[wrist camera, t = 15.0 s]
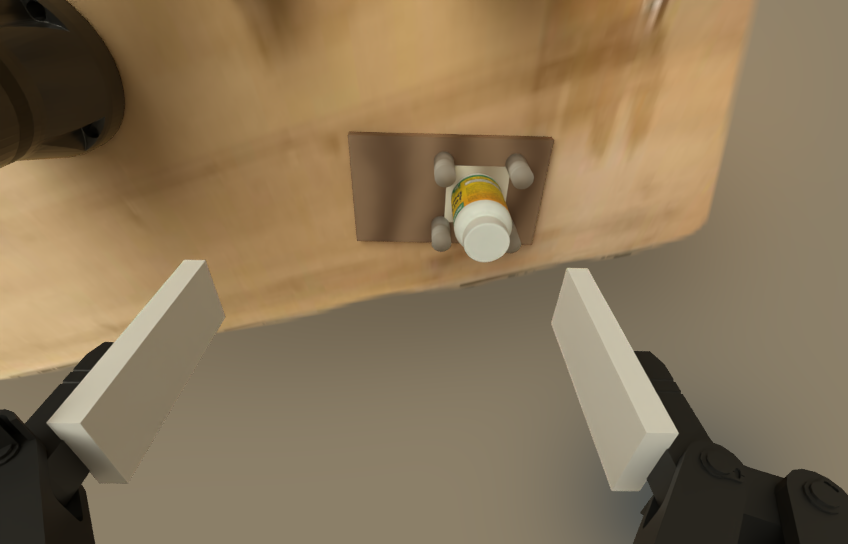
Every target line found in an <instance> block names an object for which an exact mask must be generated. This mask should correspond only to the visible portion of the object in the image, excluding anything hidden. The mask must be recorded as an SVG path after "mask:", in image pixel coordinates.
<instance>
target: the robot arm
mask: <svg viewBox="0 0 848 544" xmlns="http://www.w3.org/2000/svg"><path fill="white" fill-rule="evenodd" d="M123 114H124V91H123V86H122V82H121V78H120V75H119V72H118V70H117V67H116V65H115V63H114V61H113V59H112V57H111V55H110V53H109V51H108V49H107V48H106V46H105V44H104V43H103V41H102V40H101V38H100V37H99V36H98V34H97V33H96V32H95V30H94V29H93V28H92V27H91V25H90V24H89V23H88V22H87V21H86V20H85V18H84V17H83V16H82V15H81V14H80V13H79V12H78V11H77V10H76V9H75V8H74V7H73V6H71V5H70V4H69V3H68V2H67V1H66V0H0V168H2V167H4V166H6V165H8V164H10V163H13V162H15V161H21V160H37V159H53V158H67V157H74V156H78V155H81V154H84V153H87V152H89V151H91V150H93V149H95V148H97V147H99V146H101V145H103V144H104V143H106V142H107V141H108V140H110V139H111V138H112V137H113V136H114V135H115V133H116V132H117V130H118V129H119V127H120V125H121V122H122V119H123ZM224 319H225V314H224V311H223V308H222V306H221V303H220V300H219V297H218V294H217V291H216V289H215V286H214V283H213V280H212V277H211V274H210V272H209V269H208V266H207V263H206V260H184V261H183V262H182V263H181V264H180V265H179V266H178V268H177V269H176V270H175V271H174V272H173V274H172V275H171V276H170V277H169V278H168V279H167V281H166V282H165V283H164V284H163V285H162V287H161V288H160V289H159V290H158V291H157V292H156V294H155V295H154V296H153V297H152V298H151V300H150V301H149V302H148V303H147V304H146V305H145V307H144V308H143V309H142V310H141V311H140V313H139V314H138V315H137V316H136V317H135V318H134V320H133V321H132V322H131V323H130V324H129V326H128V327H127V328H126V329H125V330H124V332H123V333H122V334H121V335H120V336H119V337H118V339H117V340H116V341H115V342H104V343H102V344H101V345H100V346H98V347H97V348H95V349H94V350H92V351H91V352H89V353H88V354H87V355H86V356H85V357H84V358H83V359H82V360H81V361H80V362H79V363H78V365H77V366H76V367H75V368H74V371H73V372H70V374H69V375H68V376H67V377H66V378H65V379H64V380H63V384H60V385H59V386H58V387H57V388H56V389H55V390H54V391H53V393H52V394H51V395H50V396H49V397H48V398H47V399H46V400H45V402H44V403H43V404H42V405H41V406H40V407H39V408H38V409H37V411H36V412H35V413H34V414H33V415H32V416H31V417H30V418H29V420H28V421H27V422H26V423H25V424H24V423H23V422H22V421H21V420H20V419H19V417H18V416H17V415H16V414H15V413H14V412H12V411H9V410H6V409H4V410H0V544H95V540H94V535H93V530H92V524H91V518H90V512H89V507H88V501H87V495H86V491H85V489H84V487H83V486H82V485H81V484H82V482H83V481H84V479H85V478H86V476H87V475H88V473H89V472H90V473H91V474H92V475H93V476H94V478H95V479H96V480H97V481H98V482H99V483H117V484H118V483H120V484H128V483H129V481H130V480H131V478H132V476H133V475H134V473H135V471H136V469H137V468H138V466H139V464H140V463H141V461H142V459H143V457H144V455H145V454H146V452H147V451H148V449H149V447H150V445H151V444H152V442H153V440H154V439H155V437H156V435H157V433H158V432H159V430H160V428H161V426H162V425H163V423H164V421H165V420H166V418H167V416H168V415H169V413H170V411H171V409H172V408H173V406H174V404H175V402H176V401H177V399H178V397H179V396H180V394H181V392H182V390H183V389H184V387H185V385H186V384H187V382H188V380H189V378H190V377H191V375H192V373H193V371H194V370H195V368H196V367H197V365H198V363H199V361H200V360H201V358H202V356H203V355H204V353H205V351H206V349H207V348H208V346H209V344H210V343H211V341H212V339H213V337H214V336H215V334H216V332H217V331H218V329H219V327H220V325H221V324H222V322H223V320H224ZM551 324H552V327H553V330H554V333H555V335H556V338H557V341H558V344H559V346H560V349H561V352H562V355H563V357H564V360H565V363H566V366H567V369H568V371H569V374H570V377H571V380H572V382H573V385H574V388H575V391H576V393H577V396H578V399H579V402H580V404H581V407H582V410H583V413H584V416H585V418H586V421H587V424H588V427H589V429H590V432H591V435H592V438H593V441H594V443H595V446H596V449H597V452H598V454H599V457H600V460H601V463H602V465H603V468H604V471H605V474H606V476H607V479H608V482H609V485H610V488H611V490H612V491H640V489H641V488H642V487H643V485H644V484H645V482H646V481H648V483H649V485H650V487H651V490H652V492H653V494H654V495H653V496H652V497H651V499H650V500H649V501H648V503H647V504H646V506H645V507H644V508H643V510H642V511H641V514H643V515H644V516H643V519H642V522H641V524H640V527H639V529H638V532H637V534H636V537H635V539H634V542H633V544H848V495H847V494H846V493H845V492H844V490H843V489H842V488H840V487H839V486H838V485H836V484H835V483H834V482H832V481H831V480H829V479H828V478H826V477H824V476H822V475H820V474H818V473H816V472H813V471H808V470H805V469H798V470H792V471H791V472H790V473H789V474H788V475H787V476H786V477H785V478H782V477H779V476H776V475H772V474H769V473H766V472H762V471H759V470H756V469H752V468H749V467H747V466H744V465H743V464H742V462H741V461H740V460H739V459H738V458H737V457H736V456H735V455H734V454H733V453H731V452H730V451H728V450H727V449H726V448H724V447H722V446H720V445H718V444H715V443H713V442H712V441H711V439H710V438H709V436H708V435H707V433H706V431H705V430H704V428H703V426H702V425H701V423H700V422H699V420H698V418H697V417H696V415H695V413H694V412H693V410H692V408H691V407H690V405H689V404H688V402H687V400H686V399H685V397H684V396H683V394H681V391H680V389H679V387H678V386H677V384H676V382H674V381H673V378H672V376H671V374H670V373H669V371H668V369H667V368H666V367H665V365H664V364H663V363H662V362H661V361H660V360H659V359H658V358H657V357H656V356H655V355H653V354H652V353H651V352H650V351H649V352H648V351H633V349H632V348H631V346H630V344H629V343H628V341H627V339H626V337H625V335H624V333H623V331H622V330H621V328H620V326H619V324H618V322H617V320H616V319H615V317H614V315H613V313H612V312H611V310H610V308H609V306H608V304H607V303H606V301H605V299H604V297H603V296H602V294H601V292H600V290H599V288H598V286H597V284H596V283H595V281H594V279H593V277H592V275H591V273H590V272H589V270H588V269H586V268H567V269H566V273H565V276H564V280H563V284H562V287H561V291H560V294H559V298H558V301H557V305H556V308H555V312H554V315H553V319H552V323H551Z"/></svg>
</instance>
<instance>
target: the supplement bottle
mask: <svg viewBox="0 0 848 544" xmlns="http://www.w3.org/2000/svg"><path fill="white" fill-rule="evenodd" d="M451 206H452V215H453V224H454V232H455V236H456V238H457V240H458V242H459V243H460V244H461V245H462V246H463V247H464V249H465V252H466V253H467V255H468V256H469V257H470V258H472V259H473V260H475V261H479V262H491V261H494V260H497V259H499V258H500V257H502V256H503V255H504V254H505V253H506V251H507V250H508V247H509V244H510V237H509V236H510V234H511V231H512V219H511V216H510V213H509V210H508V208H507V205H506V202H505V199H504V196H503V194H502V191H501V188H500V186H499V185H498V183H497V182H496V181H495V180H494V179H493V178H492V177H490V176H488V175H485V174H480V173H476V174H470V175H468V176H465V177H464V178H462V179H461V180H460V181H459V182H458V183H457V184H456V185H455V186H454V188H453V190H452V194H451Z"/></svg>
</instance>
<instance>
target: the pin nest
mask: <svg viewBox="0 0 848 544" xmlns="http://www.w3.org/2000/svg"><path fill="white" fill-rule="evenodd" d="M348 141H349V153H350V165H351V177H352V189H353V201H354V212H355V224H356V236H357V241H387V242H432V247H433V248H434V249H435V250H436V251H440V252H443V251H446V250H448V249H449V248H450V246H451V243H459V242H458V240H457V238H456V236H455V232H454V224H453V215H452V206H451V194H452V190H453V188H454V186H455V185H456V184H457V183H458V182H459V181H460V180H461V179H462V178H464V177H465V176H468V175H470V174H476V173H480V174H485V175H488V176H490V177H492V178H493V179H494V180H495V181H496V182H497V183H498V185H499V186H500V188H501V191H502V194H503V196H504V199H505V202H506V205H507V208H508V210H509V213H510V216H511V219H512V231H511V234H510V236H509V237H510V244H509V247H508V250H507V251H506V253H514V252H516V251H518V250H519V248H520V247H521V245H532V241H533V236H534V232H535V227H536V222H537V218H538V213H539V208H540V203H541V199H542V194H543V189H544V185H545V180H546V175H547V171H548V166H549V161H550V156H551V152H552V147H553V142H554V140H553V138H552V137H535V136H496V135H457V134H418V133H379V132H349V134H348Z"/></svg>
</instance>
